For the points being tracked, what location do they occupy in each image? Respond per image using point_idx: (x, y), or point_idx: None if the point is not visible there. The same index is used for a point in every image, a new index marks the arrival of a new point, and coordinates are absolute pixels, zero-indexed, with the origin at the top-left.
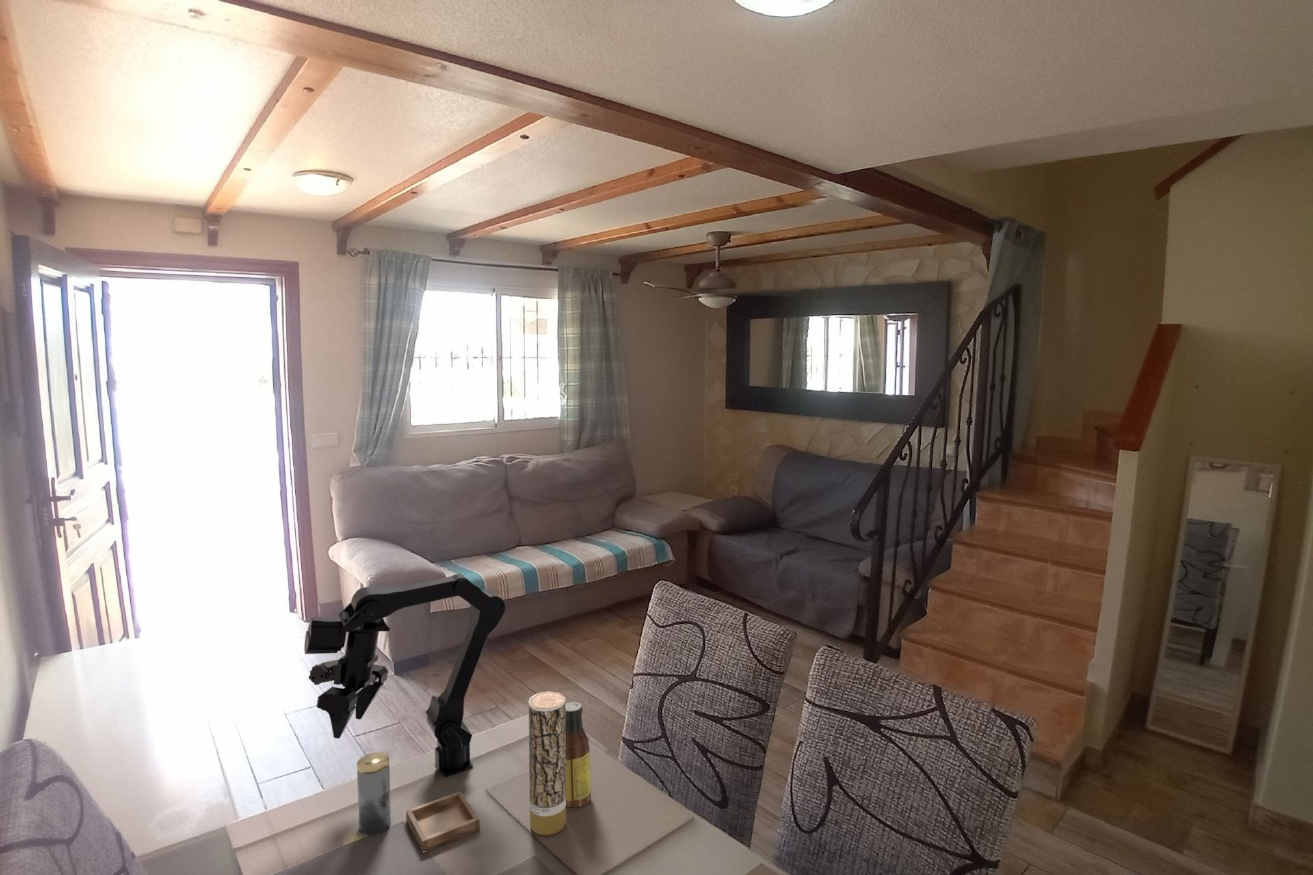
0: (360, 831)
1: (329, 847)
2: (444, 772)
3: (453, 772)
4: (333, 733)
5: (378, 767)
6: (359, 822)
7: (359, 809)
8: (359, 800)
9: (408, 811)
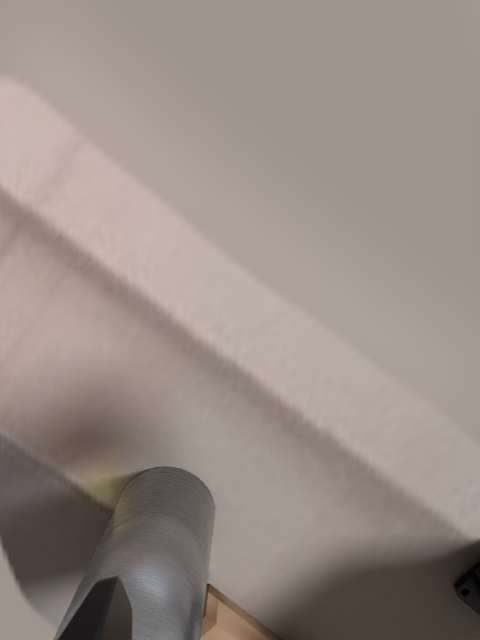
0: (124, 490)
1: (39, 440)
2: (468, 586)
3: (474, 610)
4: (69, 627)
5: None
6: (120, 501)
7: (99, 543)
8: (84, 575)
9: (203, 623)
